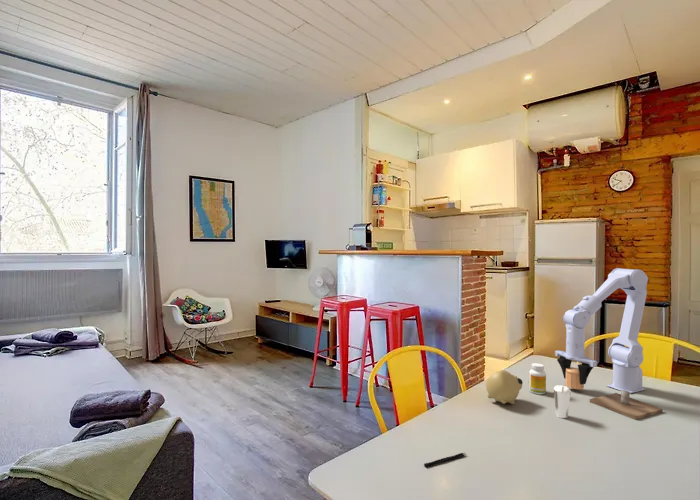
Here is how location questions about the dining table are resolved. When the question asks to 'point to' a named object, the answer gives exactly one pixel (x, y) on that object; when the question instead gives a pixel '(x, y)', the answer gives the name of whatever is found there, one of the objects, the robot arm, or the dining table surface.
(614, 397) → the post block
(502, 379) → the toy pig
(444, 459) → the black stick
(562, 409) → the milkshake
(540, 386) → the supplement bottle
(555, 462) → the dining table surface
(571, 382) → the wire nut cap
